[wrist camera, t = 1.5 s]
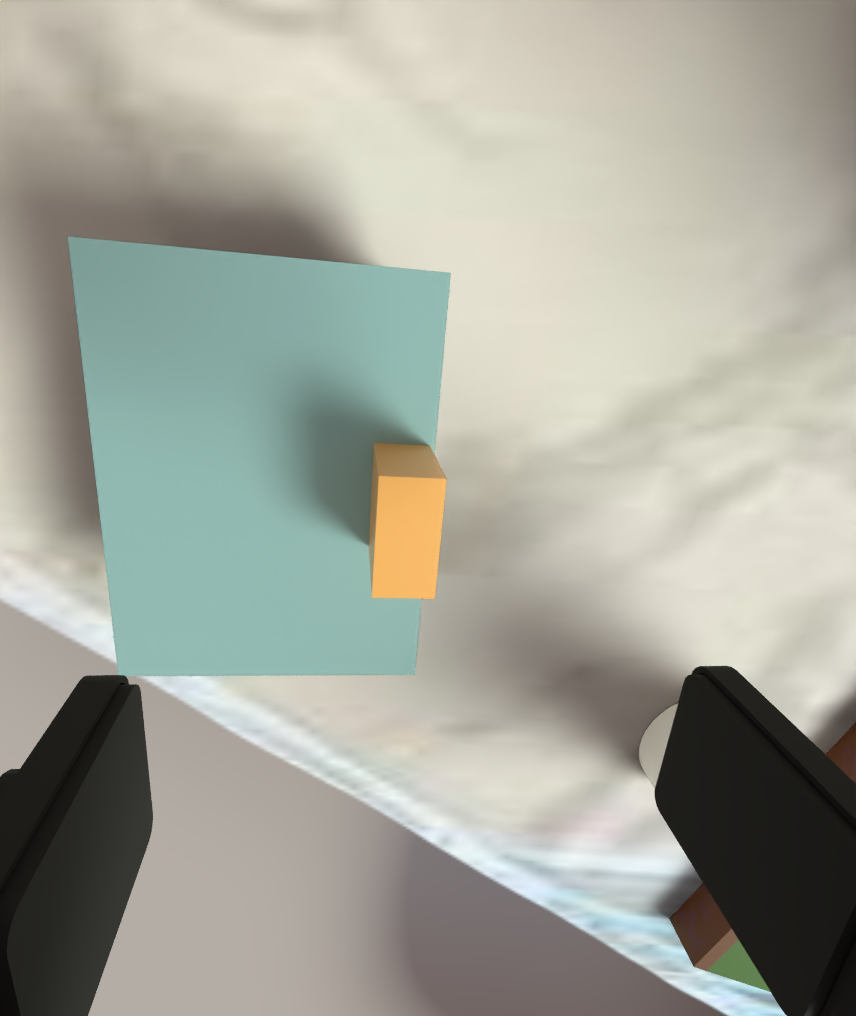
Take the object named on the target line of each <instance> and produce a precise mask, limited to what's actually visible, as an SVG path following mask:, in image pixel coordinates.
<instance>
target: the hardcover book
mask: <svg viewBox="0 0 856 1016" xmlns="http://www.w3.org/2000/svg"><path fill="white" fill-rule="evenodd" d="M826 756H827V757H828V758H829V759H830V760H831V761H833V762H834V763H835V764H836V765H837V766H838V767H839V768H840V769H841V770H842V771H843V772H844V773H845V774H846V775H847V776H848V777H849V778H850V779H852V780H853V781H854V782H855V783H856V723H855V724H854V725H853V726H852V727H851V728H850V729H849V730H848V731H847V732H846V734H845V735H844V736H843V737H842V738H841V739H840V740H839V741H838V742H837V743H836V744H835V745H834V746H833V747H832V748H831V749H830V750H829V751H828V752H827V754H826ZM670 921H671V923H672V925H673V927H674V929H675V931H676V933H677V935H678V937H679V939H680V941H681V943H682V945H683V947H684V949H685V950H686V952H687V954H688V956H689V958H690V960H691V962H692V964H693V966H694V967H696V968H699V969H702V970H705V971H708V972H711V973H714V974H718V975H721V976H724V977H727V978H730V979H733V980H736V981H739V982H742V983H745V984H748V985H751V986H754V987H757V988H760V989H763V990H767V991H770V990H769V988H768V987H767V985H766V983H765V982H764V980H763V978H762V977H761V975H760V974H759V972H758V970H757V969H756V967H755V965H754V964H753V962H752V961H751V959H750V957H749V956H748V954H747V953H746V951H745V949H744V948H743V946H742V944H741V943H740V941H739V940H738V938H737V936H736V935H735V933H734V931H733V930H732V928H731V927H730V925H729V923H728V922H727V920H726V919H725V917H724V915H723V914H722V912H721V910H720V909H719V907H718V906H717V904H716V902H715V901H714V899H713V897H712V896H711V894H710V893H709V891H708V889H707V888H706V886H705V885H704V883H703V884H702V885H701V886H700V887H699V888H698V889H697V890H696V891H695V892H694V893H693V894H692V895H691V897H690V898H689V899H688V900H687V901H686V902H685V903H684V904H683V905H682V906H681V907H680V908H679V909H678V910H677V911H676V912H675V913H674V914H673V915H672V917H671V918H670ZM770 992H771V991H770Z"/></svg>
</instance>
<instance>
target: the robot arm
mask: <svg viewBox="0 0 856 1016" xmlns="http://www.w3.org/2000/svg"><path fill="white" fill-rule="evenodd" d="M655 800H656V804H657V807H658V809H659V811H660V813H661V815H662V816H663V818H664V820H665V821H666V823H667V825H668V826H669V828H670V829H671V831H672V833H673V834H674V836H675V838H676V839H677V841H678V842H679V844H680V846H681V847H682V849H683V850H684V852H685V854H686V855H687V857H688V859H689V860H690V862H691V863H692V865H693V867H694V868H695V870H696V872H697V873H698V875H699V876H700V878H701V880H702V881H703V883H704V885H705V886H706V888H707V889H708V891H709V893H710V894H711V896H712V897H713V899H714V901H715V902H716V904H717V906H718V907H719V909H720V910H721V912H722V914H723V915H724V917H725V919H726V920H727V922H728V923H729V925H730V927H731V928H732V930H733V931H734V933H735V935H736V936H737V938H738V940H739V941H740V943H741V944H742V946H743V948H744V949H745V951H746V953H747V954H748V956H749V957H750V959H751V961H752V962H753V964H754V965H755V967H756V969H757V970H758V972H759V974H760V975H761V977H762V978H763V980H764V982H765V983H766V985H767V987H768V988H769V990H770V991H771V993H772V995H773V996H774V998H775V999H776V1001H777V1003H778V1004H779V1006H780V1007H781V1009H782V1010H783V1012H784V1013H785V1014H786V1015H787V1016H856V783H855V782H854V781H853V780H852V779H850V778H849V777H848V776H847V775H846V774H845V773H844V772H843V771H842V770H841V769H840V768H839V767H838V766H837V765H836V764H835V763H834V762H833V761H831V760H830V759H829V758H828V757H827V756H826V755H825V754H824V753H823V752H822V751H821V750H820V749H819V748H818V747H817V746H816V745H815V744H814V743H812V742H811V741H810V740H809V739H808V738H807V737H806V736H805V735H804V734H803V733H802V732H801V731H800V730H799V729H798V728H797V727H796V726H795V725H793V724H792V723H791V722H790V721H789V720H788V719H787V718H786V717H785V716H784V715H783V714H782V713H781V712H780V711H779V710H778V709H777V708H776V707H775V706H773V705H772V704H771V703H770V702H769V701H768V700H767V699H766V698H765V697H764V696H763V695H762V694H761V693H760V692H759V691H758V690H757V689H756V688H754V687H753V686H752V685H751V684H750V683H749V682H748V681H747V680H746V679H745V678H744V677H743V676H742V675H741V674H740V673H739V672H738V671H737V670H735V669H734V668H732V667H729V666H700V667H697V668H695V670H694V671H693V672H692V675H688V676H687V677H686V678H685V681H684V684H683V687H682V691H681V695H680V698H679V702H678V706H677V709H676V713H675V717H674V720H673V724H672V728H671V731H670V735H669V739H668V742H667V746H666V750H665V753H664V757H663V761H662V764H661V768H660V772H659V775H658V779H657V783H656V786H655ZM152 822H153V812H152V801H151V791H150V781H149V770H148V761H147V750H146V740H145V731H144V720H143V711H142V700H141V691H140V687H139V685H129V683H128V679H127V678H126V676H124V675H104V676H103V675H102V676H85V677H83V678H82V679H81V680H80V681H79V683H78V684H77V685H76V687H75V688H74V690H73V691H72V693H71V694H70V696H69V698H68V699H67V700H66V702H65V703H64V705H63V706H62V708H61V709H60V711H59V712H58V714H57V715H56V717H55V718H54V720H53V721H52V722H51V724H50V726H49V727H48V728H47V730H46V731H45V733H44V734H43V736H42V737H41V739H40V740H39V742H38V743H37V745H36V746H35V748H34V749H33V751H32V752H31V754H30V755H29V757H28V758H27V759H26V761H25V762H24V764H23V765H22V767H21V768H20V769H11V770H9V771H7V772H5V773H4V774H2V776H1V777H0V1016H88V1013H89V1011H90V1008H91V1005H92V1002H93V999H94V997H95V994H96V991H97V988H98V985H99V982H100V979H101V977H102V973H103V971H104V968H105V965H106V962H107V959H108V956H109V954H110V951H111V948H112V945H113V942H114V939H115V937H116V934H117V931H118V928H119V925H120V922H121V919H122V917H123V914H124V911H125V908H126V905H127V902H128V899H129V897H130V894H131V890H132V888H133V885H134V882H135V880H136V877H137V874H138V871H139V868H140V865H141V862H142V860H143V857H144V854H145V851H146V848H147V845H148V842H149V839H150V835H151V831H152Z"/></svg>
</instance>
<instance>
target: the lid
mask: <svg viewBox="0 0 856 1016" xmlns="http://www.w3.org/2000/svg"><path fill="white" fill-rule="evenodd" d="M68 245H69V253H70V262H71V271H72V279H73V288H74V297H75V305H76V314H77V322H78V331H79V340H80V348H81V357H82V366H83V374H84V383H85V392H86V400H87V409H88V417H89V426H90V435H91V443H92V452H93V461H94V469H95V478H96V487H97V495H98V504H99V512H100V521H101V530H102V538H103V547H104V556H105V564H106V573H107V582H108V590H109V599H110V607H111V616H112V625H113V633H114V642H115V651H116V659H117V668H118V675H124V676H262V675H415V666H416V655H417V644H418V633H419V622H420V610H421V599H435V592H436V582H437V571H438V561H439V551H440V541H441V531H442V521H443V510H444V500H445V490H446V480H447V479H446V477H445V475H444V473H443V471H442V469H441V467H440V465H439V463H438V461H437V459H436V457H435V455H434V454H435V443H436V432H437V420H438V409H439V398H440V387H441V376H442V365H443V353H444V342H445V331H446V320H447V309H448V298H449V286H450V275H451V273H447V272H436V271H426V270H416V269H405V268H395V267H384V266H374V265H363V264H353V263H342V262H332V261H321V260H311V259H300V258H290V257H279V256H269V255H258V254H248V253H237V252H227V251H216V250H206V249H196V248H185V247H175V246H164V245H154V244H143V243H133V242H122V241H112V240H101V239H91V238H80V237H70V236H68Z"/></svg>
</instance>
